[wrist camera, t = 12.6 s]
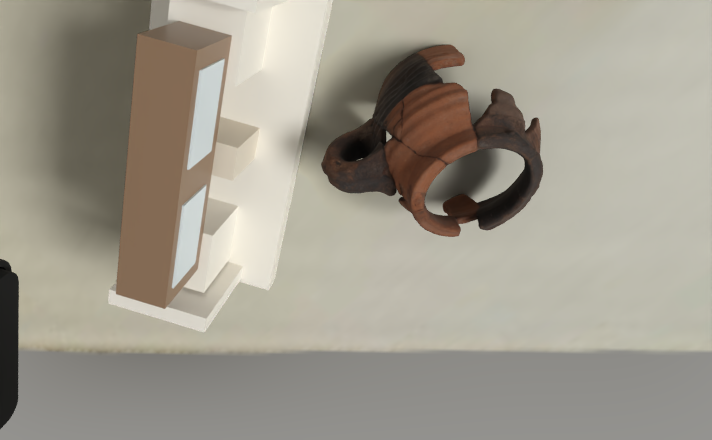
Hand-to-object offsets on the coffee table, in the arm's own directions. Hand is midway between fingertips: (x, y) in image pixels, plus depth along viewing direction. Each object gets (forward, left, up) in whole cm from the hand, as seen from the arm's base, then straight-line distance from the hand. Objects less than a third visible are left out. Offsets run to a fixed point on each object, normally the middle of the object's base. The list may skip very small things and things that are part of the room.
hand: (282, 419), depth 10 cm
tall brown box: (+7, -11, -24) cm, 28 cm away
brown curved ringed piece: (+4, +2, -31) cm, 31 cm away
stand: (+7, -11, -30) cm, 33 cm away
